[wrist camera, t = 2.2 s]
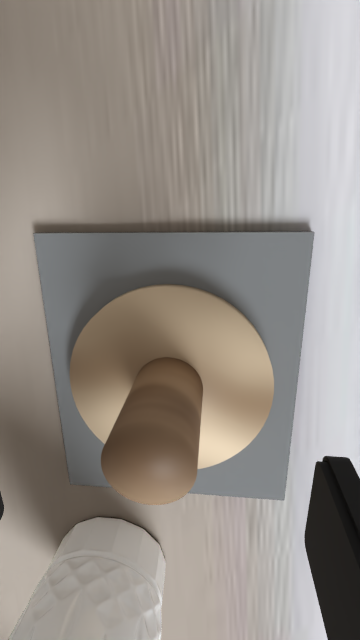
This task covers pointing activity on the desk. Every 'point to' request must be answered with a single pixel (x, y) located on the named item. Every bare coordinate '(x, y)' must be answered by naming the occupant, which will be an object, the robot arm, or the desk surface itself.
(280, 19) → the desk surface
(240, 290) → the mat
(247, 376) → the lid
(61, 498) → the desk surface
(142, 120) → the desk surface
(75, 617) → the white cup
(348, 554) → the robot arm
